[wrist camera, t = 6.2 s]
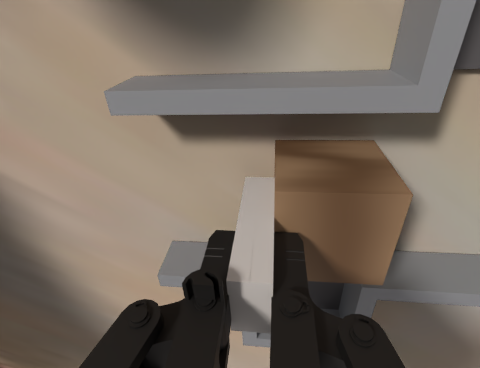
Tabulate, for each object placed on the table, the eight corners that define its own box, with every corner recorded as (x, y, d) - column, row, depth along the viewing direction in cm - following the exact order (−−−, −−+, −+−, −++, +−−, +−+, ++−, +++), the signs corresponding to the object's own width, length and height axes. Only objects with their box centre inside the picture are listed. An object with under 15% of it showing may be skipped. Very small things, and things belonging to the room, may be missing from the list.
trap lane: (187, 303, 24) (176, 339, 21) (97, -88, 11) (43, -116, 8) (490, 325, 21) (519, 369, 18) (838, -161, 8) (1088, -235, 6)
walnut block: (273, 214, 18) (272, 278, 14) (275, 139, 15) (274, 191, 11) (356, 217, 17) (382, 285, 13) (373, 140, 15) (413, 194, 10)
